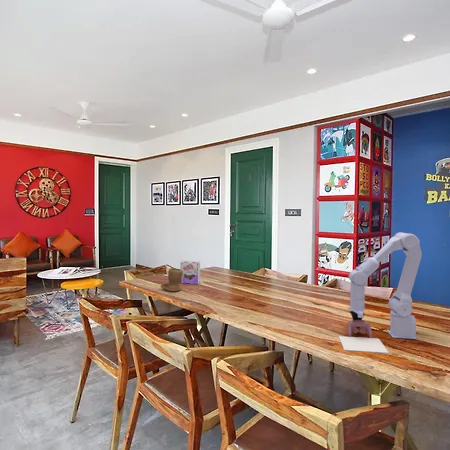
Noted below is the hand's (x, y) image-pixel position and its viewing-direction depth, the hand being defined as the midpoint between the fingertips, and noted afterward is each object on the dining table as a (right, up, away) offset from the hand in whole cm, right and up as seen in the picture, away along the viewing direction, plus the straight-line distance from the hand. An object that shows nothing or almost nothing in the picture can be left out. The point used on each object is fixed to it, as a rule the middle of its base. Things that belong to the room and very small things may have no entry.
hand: (357, 328), depth 144 cm
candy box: (-84, +1, +102) cm, 132 cm away
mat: (-3, -3, -12) cm, 12 cm away
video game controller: (0, -2, -2) cm, 3 cm away
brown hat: (-93, 0, +82) cm, 124 cm away
